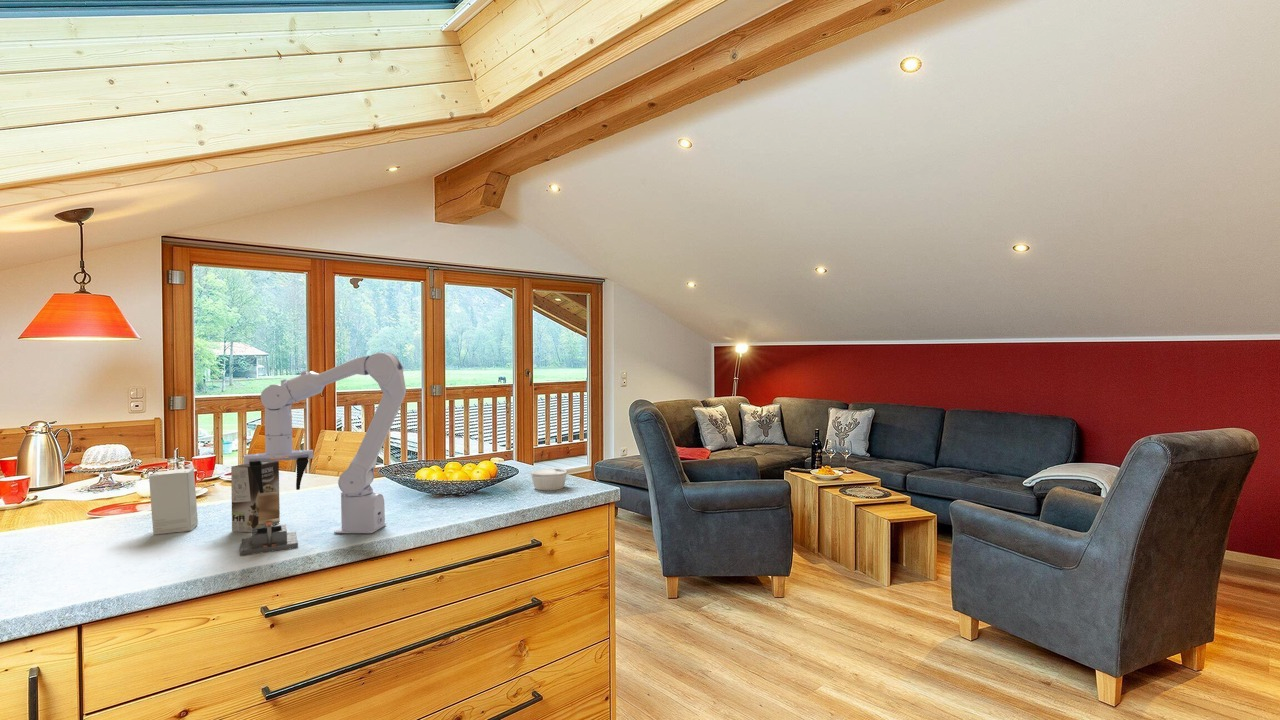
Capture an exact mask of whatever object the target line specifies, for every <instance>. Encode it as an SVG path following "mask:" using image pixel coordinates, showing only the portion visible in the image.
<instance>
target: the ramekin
mask: <svg viewBox="0 0 1280 720" xmlns="http://www.w3.org/2000/svg"><path fill="white" fill-rule="evenodd" d="M530 475H531V477H532V484H533V488H535V489H536V490H538V491H546V490H547V491H549V490H550V491H557V490H561V489H563V488H564V487H565V485H566V481H567V480H566V478H567V475H568V472H567V470H566V469H563V468H562V469H561V468H538V469H535V470H532V471H531V472H530ZM550 491H549V492H550Z"/></svg>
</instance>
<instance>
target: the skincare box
mask: <svg viewBox="0 0 1280 720" xmlns="http://www.w3.org/2000/svg"><path fill="white" fill-rule="evenodd" d="M194 468H195V467H194ZM194 468H193V467H192V468H191V467H190V468H182V469H172V470H163V471H162V470H161V471H159V470H158V471H155V472H154V473H152V474H151V475H149V476H148V479H149V480H148V481H149V492H150V493H149V494H150V495H149V496H150V506H151V507H150V508H151V519H152V520H151V521H152V534H153V535H154V536H155V535H162V534H164V535H165V534H171V533H181V532H189V531H190V532H191V531H192V530H193V529H195V528H196V527H198V525H199V519H198V506H197V505H198V504H197V491H196V490H197V489H196V478H195V469H194Z"/></svg>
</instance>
